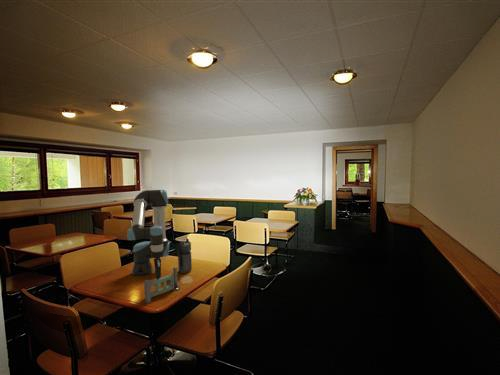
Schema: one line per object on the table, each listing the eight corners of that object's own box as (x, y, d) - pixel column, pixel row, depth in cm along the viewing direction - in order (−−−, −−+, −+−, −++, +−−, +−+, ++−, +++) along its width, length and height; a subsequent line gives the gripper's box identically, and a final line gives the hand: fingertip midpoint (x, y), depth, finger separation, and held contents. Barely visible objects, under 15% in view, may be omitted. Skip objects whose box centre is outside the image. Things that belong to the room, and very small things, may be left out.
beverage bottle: (174, 274, 190) (173, 242, 189) (183, 268, 202) (182, 237, 201) (185, 275, 187) (184, 242, 186) (194, 269, 199) (193, 238, 198)
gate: (172, 287, 164) (172, 274, 164) (174, 288, 162) (174, 275, 162) (146, 297, 152) (146, 282, 151) (148, 298, 150) (148, 283, 149)
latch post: (143, 302, 147) (143, 281, 146) (148, 300, 149) (148, 279, 149) (147, 304, 145) (146, 282, 144) (151, 301, 148) (151, 280, 147)
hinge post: (169, 289, 164) (168, 267, 163) (176, 285, 169) (175, 264, 168) (175, 291, 160) (174, 269, 160) (182, 287, 165) (181, 266, 165)
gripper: (149, 248, 163) (150, 283, 164) (152, 254, 151) (153, 291, 152) (161, 247, 166) (162, 281, 167) (164, 252, 155) (166, 288, 156)
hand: (158, 286), depth 160 cm, fingers closed
